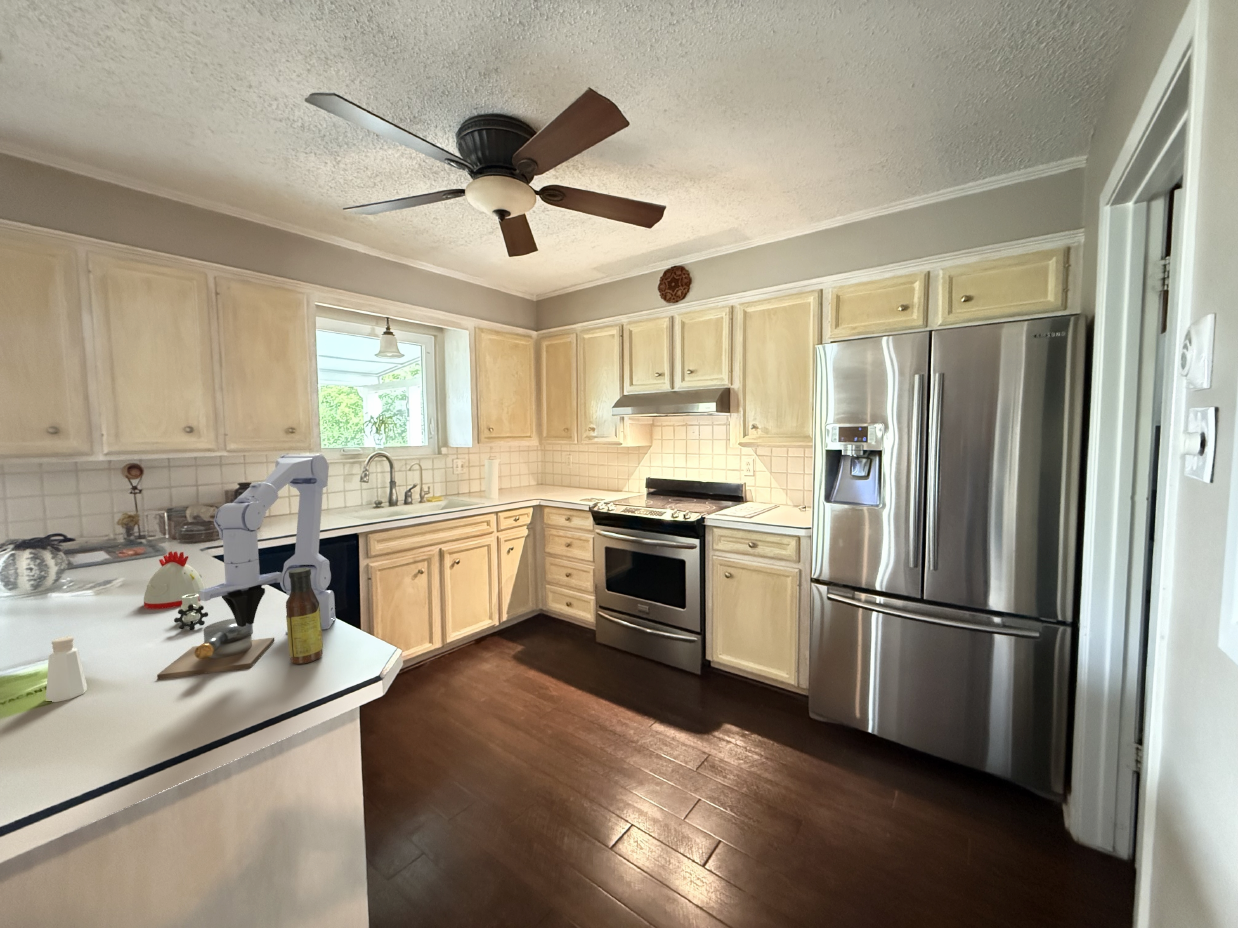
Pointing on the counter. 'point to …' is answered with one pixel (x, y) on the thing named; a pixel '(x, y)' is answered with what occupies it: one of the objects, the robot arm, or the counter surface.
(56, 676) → the pepper shaker
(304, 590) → the sauce bottle
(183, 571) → the white and red dome
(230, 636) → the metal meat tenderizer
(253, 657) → the thin wooden panel
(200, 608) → the valve
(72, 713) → the counter surface
